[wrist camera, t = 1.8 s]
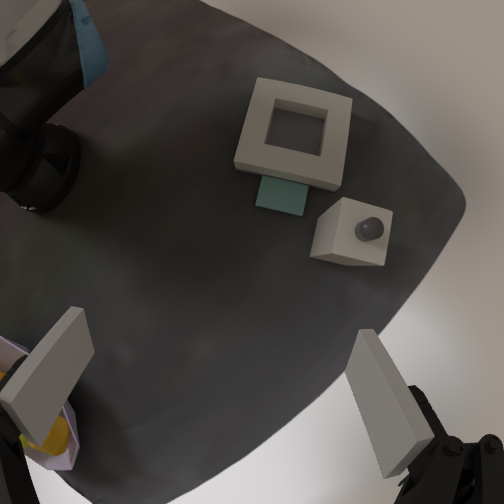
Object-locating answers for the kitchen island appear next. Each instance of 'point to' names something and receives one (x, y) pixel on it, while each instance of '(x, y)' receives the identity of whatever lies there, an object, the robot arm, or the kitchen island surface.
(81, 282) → the kitchen island surface
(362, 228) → the plug
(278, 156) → the socket
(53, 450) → the fruit bowl
